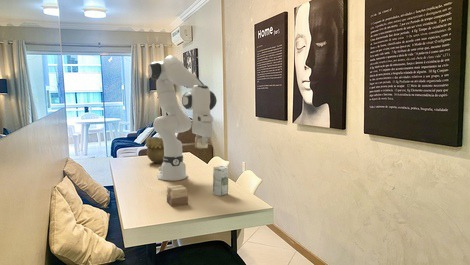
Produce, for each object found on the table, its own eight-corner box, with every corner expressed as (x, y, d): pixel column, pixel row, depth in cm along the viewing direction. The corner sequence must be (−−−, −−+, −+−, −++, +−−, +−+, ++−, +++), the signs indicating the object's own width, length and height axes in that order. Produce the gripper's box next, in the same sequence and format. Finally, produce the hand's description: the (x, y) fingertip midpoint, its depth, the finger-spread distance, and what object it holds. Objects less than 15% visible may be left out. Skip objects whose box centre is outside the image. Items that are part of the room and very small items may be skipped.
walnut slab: (166, 202, 171) (166, 194, 171) (182, 200, 175) (182, 192, 175) (171, 207, 164) (171, 198, 164) (187, 205, 168) (187, 196, 167)
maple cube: (195, 147, 182) (195, 137, 181) (204, 146, 184) (204, 136, 183) (198, 148, 177) (198, 138, 177) (207, 147, 179) (207, 138, 179)
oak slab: (167, 194, 170) (167, 186, 170) (181, 193, 174) (181, 185, 173) (172, 198, 164) (172, 190, 164) (186, 196, 168) (186, 188, 167)
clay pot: (155, 159, 281) (154, 134, 279) (179, 161, 274) (178, 135, 272) (139, 164, 262) (139, 137, 260) (164, 166, 255) (164, 138, 252)
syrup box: (220, 192, 190) (220, 165, 188) (228, 194, 186) (228, 166, 184) (212, 194, 185) (212, 166, 184) (221, 196, 181) (221, 168, 180)
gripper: (188, 115, 187) (188, 141, 188) (202, 118, 168) (202, 147, 170) (200, 115, 189) (200, 141, 191) (214, 118, 171) (214, 146, 173)
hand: (201, 144), depth 180 cm, fingers closed on maple cube, 5 cm apart
